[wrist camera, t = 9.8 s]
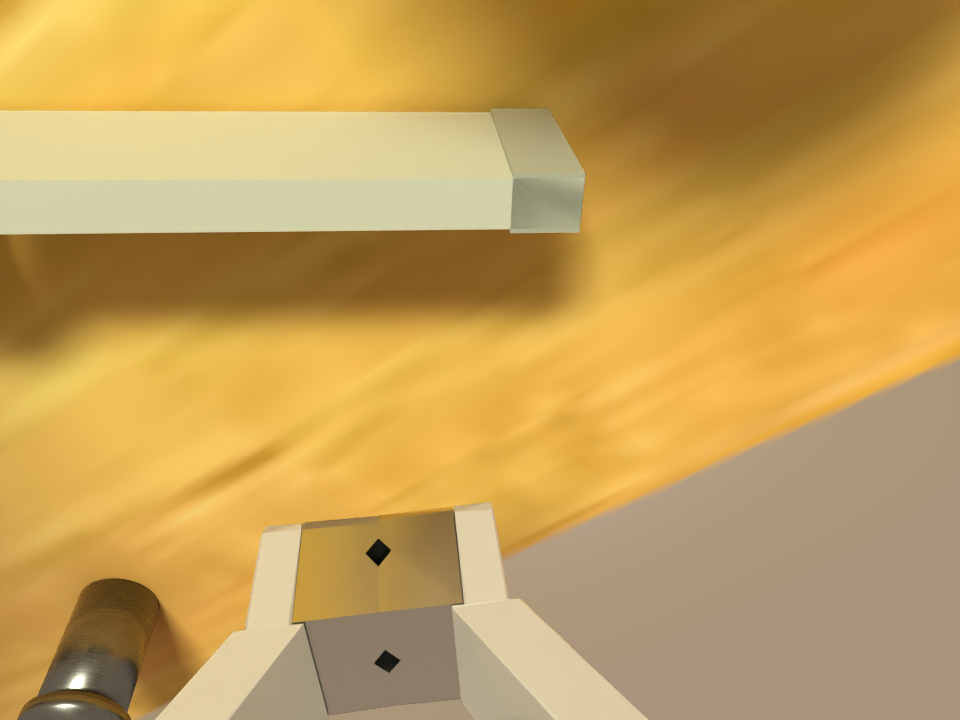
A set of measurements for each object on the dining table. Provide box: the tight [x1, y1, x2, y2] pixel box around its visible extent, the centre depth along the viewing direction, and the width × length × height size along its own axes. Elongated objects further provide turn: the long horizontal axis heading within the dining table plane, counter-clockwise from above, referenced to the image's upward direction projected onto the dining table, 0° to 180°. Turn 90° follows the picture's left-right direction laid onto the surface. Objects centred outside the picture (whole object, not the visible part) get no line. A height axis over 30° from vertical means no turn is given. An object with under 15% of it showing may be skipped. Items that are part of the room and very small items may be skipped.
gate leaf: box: [0, 108, 586, 234], centre depth 19 cm, size 1×15×5 cm, turn 88°
